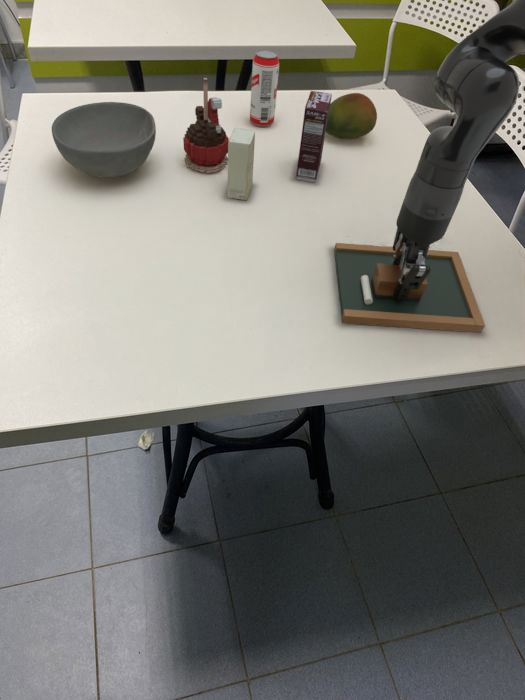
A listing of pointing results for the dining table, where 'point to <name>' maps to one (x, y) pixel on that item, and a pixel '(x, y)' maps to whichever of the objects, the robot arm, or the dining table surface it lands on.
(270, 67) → the beer can
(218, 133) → the cake
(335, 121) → the fruit
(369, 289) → the chalk
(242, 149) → the cosmetic box
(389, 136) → the dining table surface
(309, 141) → the supplement box
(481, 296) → the dining table surface
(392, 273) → the eraser
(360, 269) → the slate board
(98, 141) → the bowl
